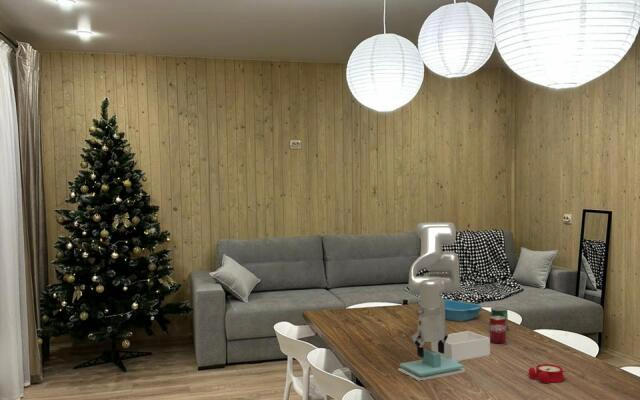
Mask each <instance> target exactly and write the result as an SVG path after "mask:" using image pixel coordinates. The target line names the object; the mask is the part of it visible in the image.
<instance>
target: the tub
mask: <svg viewBox="0 0 640 400" xmlns="http://www.w3.org/2000/svg"><path fill="white" fill-rule="evenodd" d="M438 342H439V341H433V342H430V344H431V347H430V348H431V349H430V350H432V351H434V352H437V353H439V354H440V356H442V357H445V358H447V359H454V360H457V361H459V362H460V361H465V360H466V361H467V360H470V359H476V358H480V357H481V358H482V357H486V356H490V355H491V343H490V337H488V336H485V335H482V334H479V333H476V332H473V331H470V330H465V331H460V332H454V333H453V332H452V333H449V334H448V338H447V339H446V342H445V343H444V354H442V353H440V352H438Z"/></svg>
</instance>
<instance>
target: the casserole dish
mask: <svg viewBox="0 0 640 400" xmlns="http://www.w3.org/2000/svg"><path fill="white" fill-rule="evenodd" d="M443 299H444V302H445V321H446V320H447V321H452V322H466V321H469V320H473V319H475V318H477V317H478V316H479V314H480V311H481V307H482V305H481V304H478V303H473V302H465V301H460V300H455V299H454V300H453V299H446V298H443ZM417 305H418V307H419V308H420V302H419V303H418V304H417Z"/></svg>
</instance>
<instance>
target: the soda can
mask: <svg viewBox="0 0 640 400" xmlns="http://www.w3.org/2000/svg"><path fill="white" fill-rule="evenodd" d="M489 338H490V345H491V344H492V345H497V346H504V345H506V344H507V342H508V341H507V340H508V339H507V338H508V337H507V332H506V318H505V317H502V316H492V317H491V316H490V317H489Z"/></svg>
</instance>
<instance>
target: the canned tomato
mask: <svg viewBox="0 0 640 400" xmlns="http://www.w3.org/2000/svg"><path fill="white" fill-rule="evenodd" d="M508 314H509V313H508V308H506V307H502V306H493V307H490V317H492V316H502V317H505V318H506V333H507V332H509V321H508V319H509V318H508Z"/></svg>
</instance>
